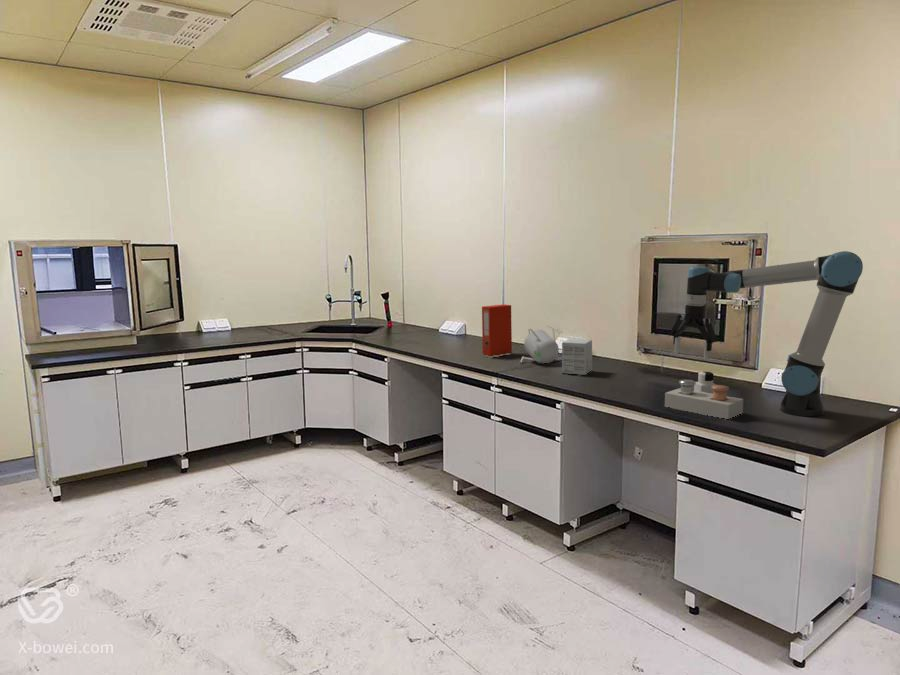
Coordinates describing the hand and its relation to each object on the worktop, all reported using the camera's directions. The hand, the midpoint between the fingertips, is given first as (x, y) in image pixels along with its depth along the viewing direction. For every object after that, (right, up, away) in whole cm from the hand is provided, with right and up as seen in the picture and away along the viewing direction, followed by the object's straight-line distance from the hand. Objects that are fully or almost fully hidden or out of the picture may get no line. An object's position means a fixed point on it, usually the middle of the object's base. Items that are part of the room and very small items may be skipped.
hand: (691, 355), depth 246 cm
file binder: (-70, -4, +131) cm, 148 cm away
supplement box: (-31, -12, +75) cm, 82 cm away
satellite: (-45, -8, +105) cm, 114 cm away
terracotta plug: (+8, -20, -8) cm, 23 cm away
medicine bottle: (+12, -20, +14) cm, 27 cm away
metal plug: (-1, -18, +2) cm, 18 cm away
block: (+4, -22, -3) cm, 23 cm away
